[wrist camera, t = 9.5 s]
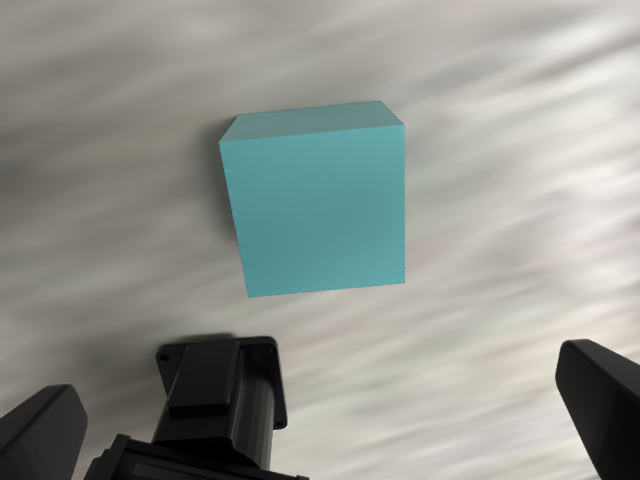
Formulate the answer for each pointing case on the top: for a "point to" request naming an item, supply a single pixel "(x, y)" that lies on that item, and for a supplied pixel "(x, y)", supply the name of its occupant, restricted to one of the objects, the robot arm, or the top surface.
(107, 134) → the top surface
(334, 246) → the teal brick
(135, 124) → the top surface
